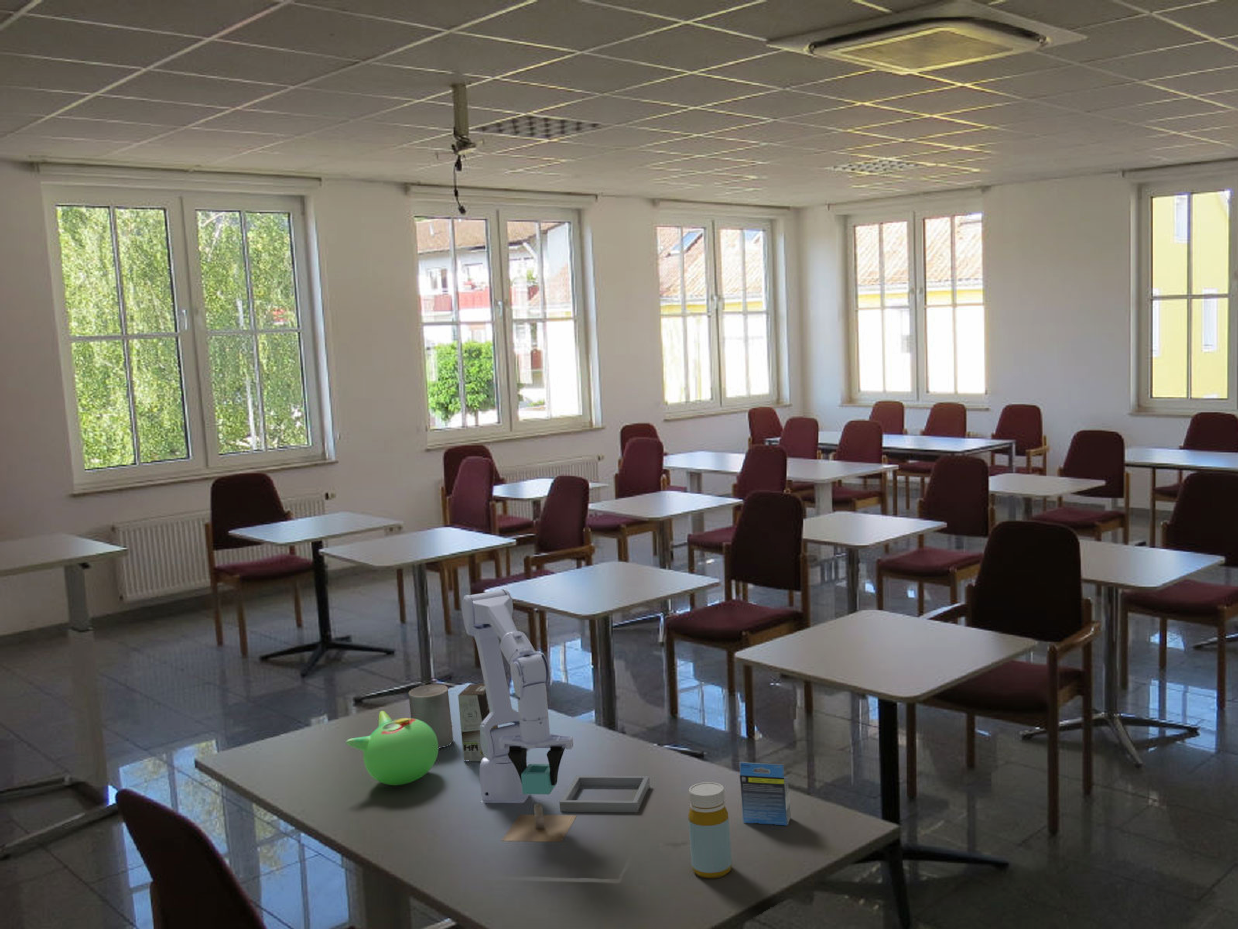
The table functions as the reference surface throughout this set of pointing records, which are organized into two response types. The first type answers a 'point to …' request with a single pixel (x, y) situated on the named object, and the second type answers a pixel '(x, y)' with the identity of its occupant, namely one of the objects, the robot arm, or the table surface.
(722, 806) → the bottle
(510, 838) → the stake board
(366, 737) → the toy bird
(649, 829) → the table surface
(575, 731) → the table surface
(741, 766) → the label tape box
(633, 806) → the tray
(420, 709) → the pillar candle
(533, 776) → the teal hollow block
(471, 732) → the coffee box
